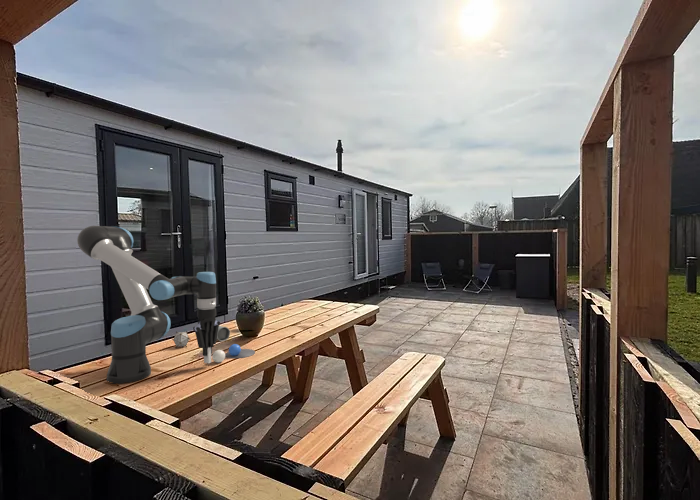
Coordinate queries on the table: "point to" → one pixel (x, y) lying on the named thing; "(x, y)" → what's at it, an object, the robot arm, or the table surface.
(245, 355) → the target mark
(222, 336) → the ceramic mug
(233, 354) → the blue ball
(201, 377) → the table surface
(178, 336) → the grey spiked polyhedron
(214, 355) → the white ball
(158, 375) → the table surface
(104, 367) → the table surface
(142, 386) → the table surface
